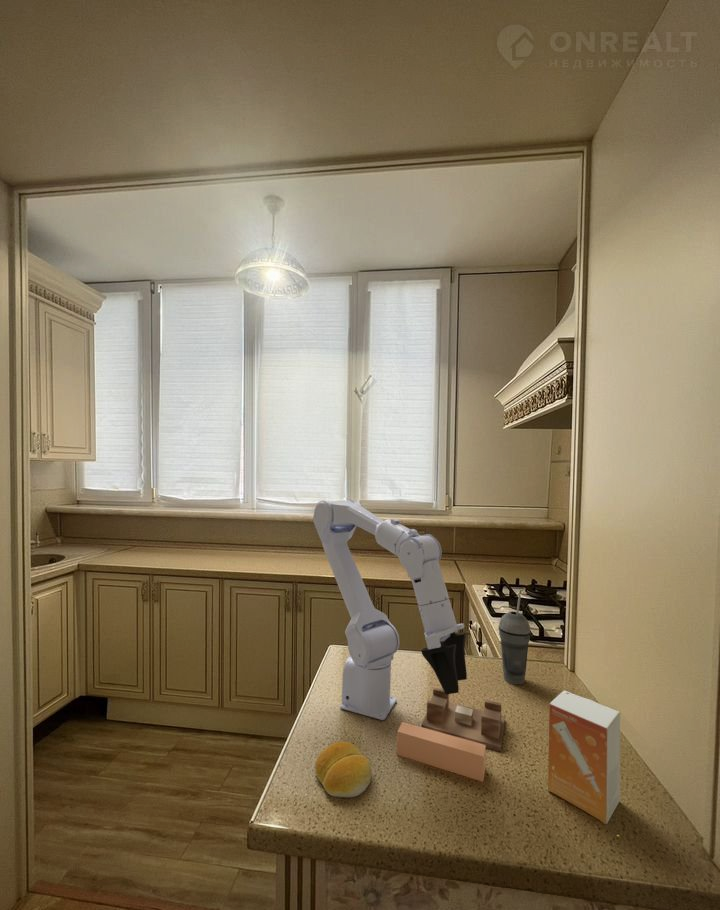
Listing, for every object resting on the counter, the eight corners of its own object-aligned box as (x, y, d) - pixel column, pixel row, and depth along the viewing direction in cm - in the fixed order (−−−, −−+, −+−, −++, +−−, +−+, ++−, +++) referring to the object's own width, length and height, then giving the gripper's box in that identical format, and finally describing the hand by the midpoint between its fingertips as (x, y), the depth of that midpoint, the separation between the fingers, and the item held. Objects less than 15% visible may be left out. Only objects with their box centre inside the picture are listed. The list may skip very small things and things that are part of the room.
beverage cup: (506, 669, 100) (507, 587, 101) (536, 681, 94) (536, 594, 95) (491, 678, 95) (493, 592, 96) (521, 691, 89) (522, 600, 90)
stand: (421, 729, 75) (421, 707, 75) (433, 702, 84) (433, 682, 84) (500, 751, 69) (501, 727, 69) (504, 720, 78) (504, 699, 79)
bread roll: (335, 810, 56) (336, 780, 56) (308, 769, 64) (309, 743, 64) (383, 787, 61) (384, 760, 61) (352, 752, 68) (353, 727, 68)
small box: (547, 791, 61) (547, 702, 61) (563, 771, 65) (563, 688, 66) (607, 826, 55) (607, 727, 55) (621, 802, 59) (621, 710, 60)
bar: (396, 756, 68) (397, 731, 68) (402, 745, 70) (402, 721, 71) (483, 783, 62) (483, 756, 62) (485, 770, 65) (485, 745, 65)
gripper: (446, 601, 64) (473, 696, 60) (462, 593, 77) (485, 671, 73) (405, 610, 67) (428, 702, 62) (428, 601, 80) (448, 677, 75)
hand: (456, 686), depth 68 cm, fingers open, 7 cm apart
